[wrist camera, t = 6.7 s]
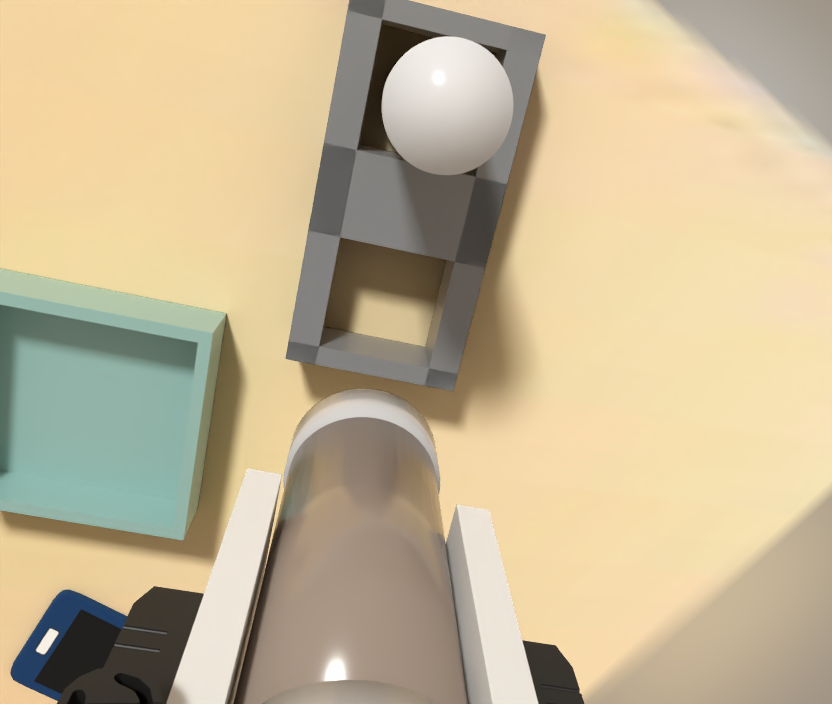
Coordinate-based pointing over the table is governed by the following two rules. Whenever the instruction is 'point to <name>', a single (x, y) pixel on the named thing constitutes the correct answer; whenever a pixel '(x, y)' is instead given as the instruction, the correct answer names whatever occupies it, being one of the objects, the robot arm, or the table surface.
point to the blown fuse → (357, 566)
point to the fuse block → (404, 201)
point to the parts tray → (104, 404)
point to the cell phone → (67, 643)
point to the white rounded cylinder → (447, 105)
